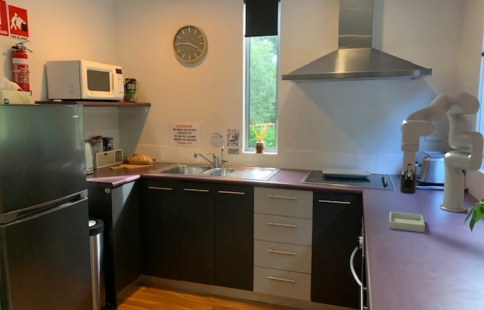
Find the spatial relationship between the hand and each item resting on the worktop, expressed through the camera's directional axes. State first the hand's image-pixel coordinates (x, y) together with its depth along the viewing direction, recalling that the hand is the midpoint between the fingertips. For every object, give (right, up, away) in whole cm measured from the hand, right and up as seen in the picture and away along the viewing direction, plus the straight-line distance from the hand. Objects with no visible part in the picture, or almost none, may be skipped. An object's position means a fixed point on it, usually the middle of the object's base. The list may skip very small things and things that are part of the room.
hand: (407, 186), depth 169 cm
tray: (0, -18, +2) cm, 18 cm away
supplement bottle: (0, -3, 0) cm, 3 cm away
